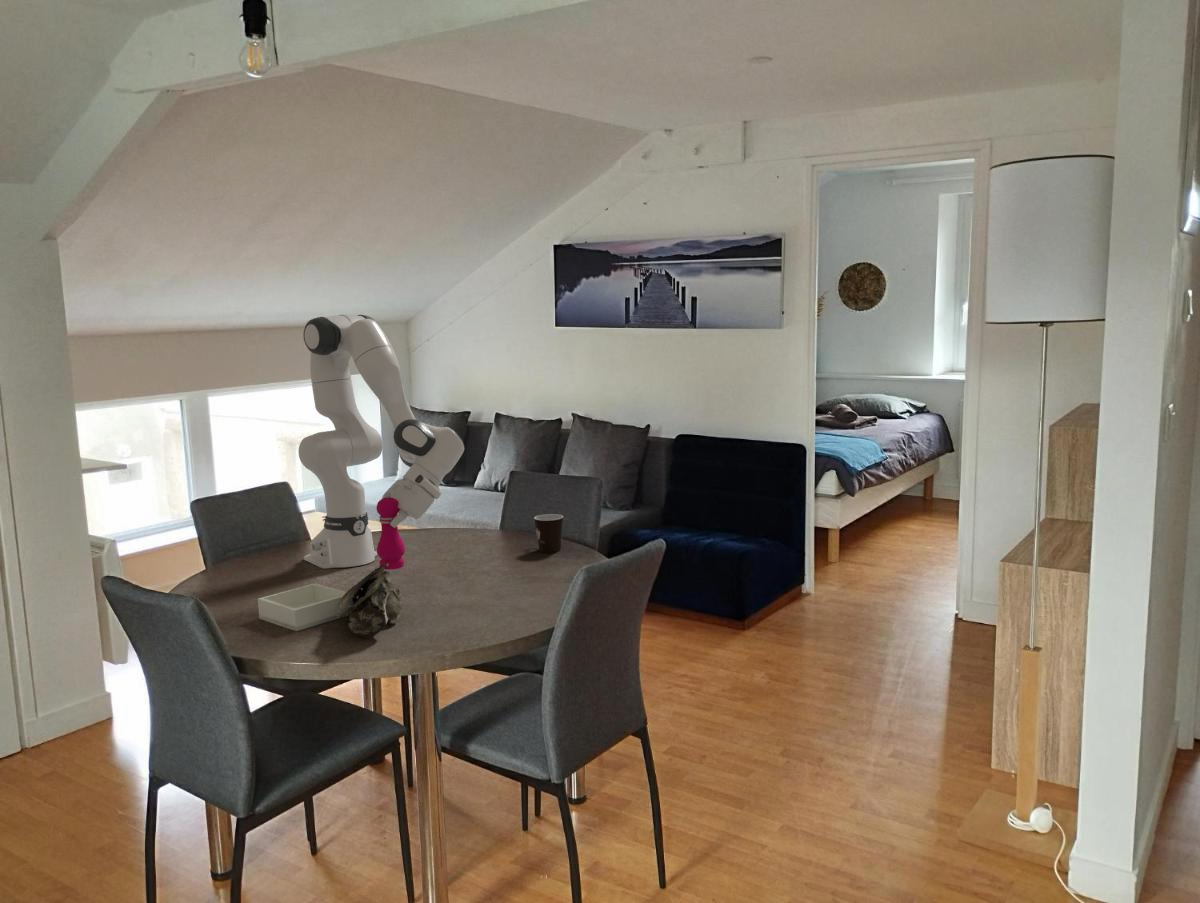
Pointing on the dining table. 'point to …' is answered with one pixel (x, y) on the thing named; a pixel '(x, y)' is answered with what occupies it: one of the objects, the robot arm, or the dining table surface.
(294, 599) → the tray
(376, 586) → the hollow geode rock
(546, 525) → the dark brown cup
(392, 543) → the pepper mill
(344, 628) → the dining table surface
